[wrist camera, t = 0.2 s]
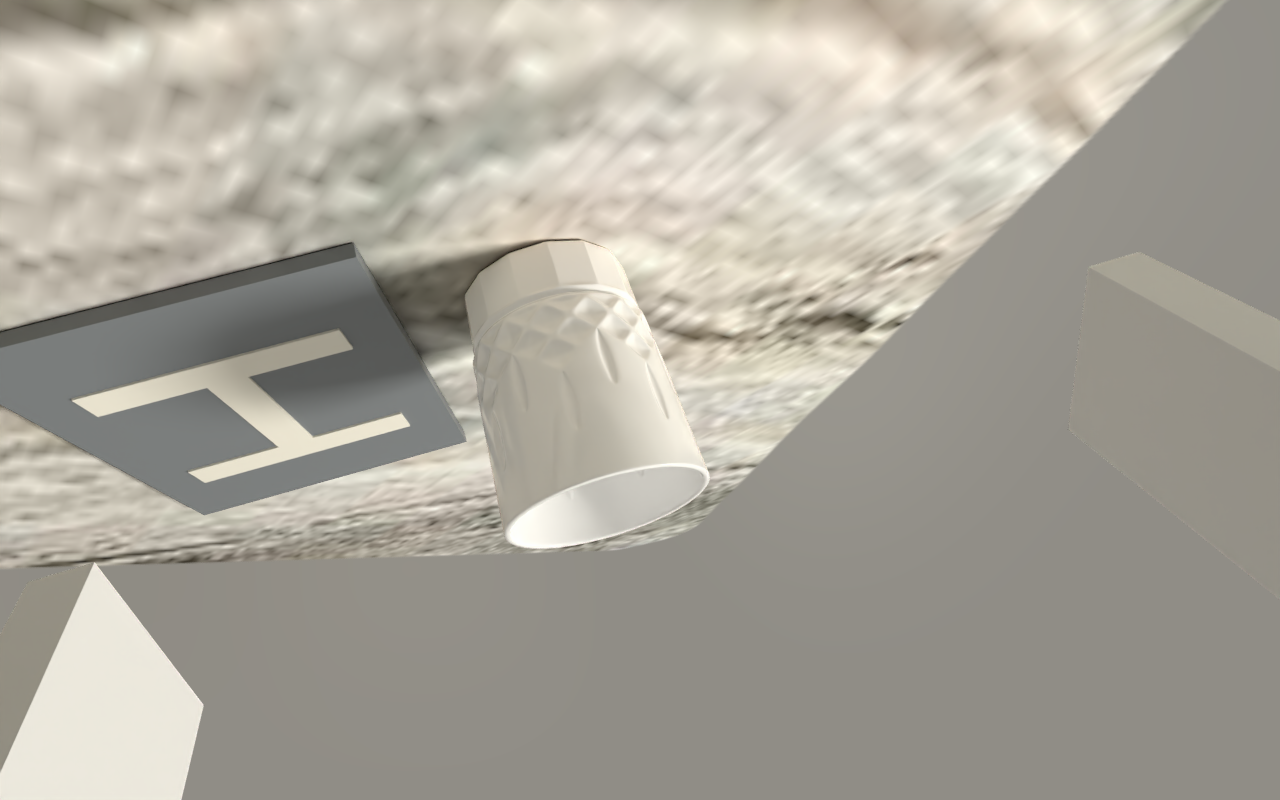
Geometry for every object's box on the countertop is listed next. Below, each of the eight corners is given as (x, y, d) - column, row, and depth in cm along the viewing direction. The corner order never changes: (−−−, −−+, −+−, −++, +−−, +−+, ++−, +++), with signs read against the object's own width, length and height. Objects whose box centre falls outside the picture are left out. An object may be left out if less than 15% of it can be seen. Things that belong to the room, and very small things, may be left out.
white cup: (529, 354, 40) (584, 553, 36) (407, 304, 33) (458, 542, 29) (666, 272, 37) (743, 481, 33) (563, 199, 30) (643, 450, 26)
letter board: (-71, 350, 27) (-71, 368, 27) (353, 243, 29) (356, 259, 29) (203, 504, 44) (204, 516, 44) (464, 431, 45) (466, 443, 45)
